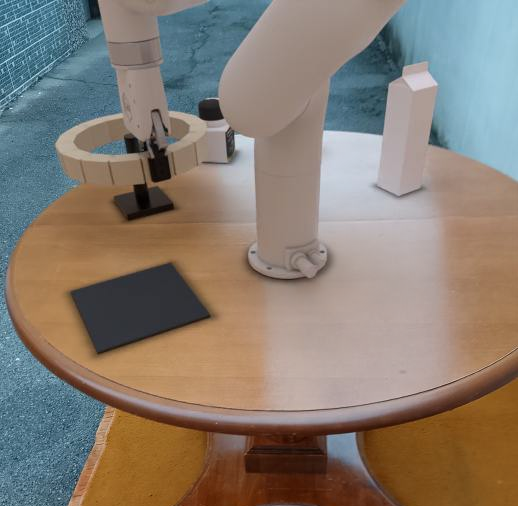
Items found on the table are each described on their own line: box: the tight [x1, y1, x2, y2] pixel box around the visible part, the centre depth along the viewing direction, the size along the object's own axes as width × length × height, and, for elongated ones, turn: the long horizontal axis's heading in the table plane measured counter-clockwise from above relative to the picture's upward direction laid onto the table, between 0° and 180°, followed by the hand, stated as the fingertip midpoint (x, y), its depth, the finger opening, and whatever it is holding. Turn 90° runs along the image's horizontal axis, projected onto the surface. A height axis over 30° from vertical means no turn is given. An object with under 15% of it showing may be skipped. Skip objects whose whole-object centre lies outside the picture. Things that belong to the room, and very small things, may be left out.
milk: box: [376, 61, 439, 197], centre depth 98 cm, size 6×6×22 cm
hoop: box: [54, 110, 209, 187], centre depth 95 cm, size 26×26×4 cm
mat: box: [70, 262, 211, 355], centre depth 78 cm, size 16×16×1 cm
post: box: [113, 133, 175, 221], centre depth 98 cm, size 9×9×13 cm
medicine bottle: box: [197, 97, 236, 164], centre depth 116 cm, size 7×7×12 cm
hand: (157, 175), depth 88 cm, fingers closed on hoop, 3 cm apart
